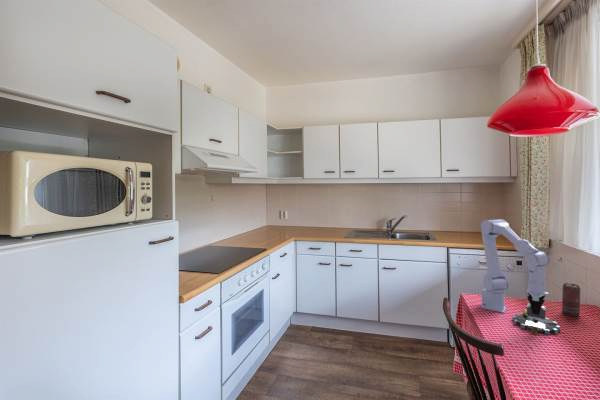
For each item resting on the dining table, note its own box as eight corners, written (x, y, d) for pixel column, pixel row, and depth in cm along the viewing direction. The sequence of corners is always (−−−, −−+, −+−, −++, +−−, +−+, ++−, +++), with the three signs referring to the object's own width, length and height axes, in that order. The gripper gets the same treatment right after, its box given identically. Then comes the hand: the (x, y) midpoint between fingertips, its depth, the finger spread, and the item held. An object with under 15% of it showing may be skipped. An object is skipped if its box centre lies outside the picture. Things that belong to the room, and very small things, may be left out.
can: (571, 311, 144) (572, 282, 144) (583, 317, 138) (584, 287, 137) (558, 311, 145) (559, 282, 144) (568, 317, 139) (569, 287, 138)
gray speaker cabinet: (545, 315, 128) (545, 306, 128) (545, 319, 125) (545, 309, 125) (527, 312, 132) (527, 302, 131) (527, 315, 129) (527, 305, 128)
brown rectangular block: (531, 333, 125) (531, 327, 125) (531, 332, 126) (531, 326, 125) (537, 335, 123) (537, 329, 123) (537, 334, 124) (537, 328, 124)
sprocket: (534, 335, 123) (534, 325, 123) (504, 317, 139) (504, 309, 139) (570, 332, 124) (570, 323, 124) (536, 315, 140) (536, 307, 140)
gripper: (548, 287, 119) (547, 321, 120) (549, 278, 130) (548, 308, 131) (526, 284, 124) (525, 316, 125) (528, 275, 135) (528, 304, 136)
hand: (536, 312), depth 128 cm, fingers closed on gray speaker cabinet, 4 cm apart
